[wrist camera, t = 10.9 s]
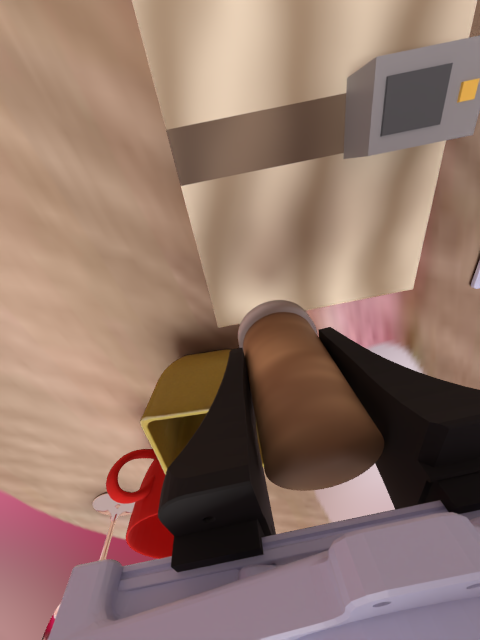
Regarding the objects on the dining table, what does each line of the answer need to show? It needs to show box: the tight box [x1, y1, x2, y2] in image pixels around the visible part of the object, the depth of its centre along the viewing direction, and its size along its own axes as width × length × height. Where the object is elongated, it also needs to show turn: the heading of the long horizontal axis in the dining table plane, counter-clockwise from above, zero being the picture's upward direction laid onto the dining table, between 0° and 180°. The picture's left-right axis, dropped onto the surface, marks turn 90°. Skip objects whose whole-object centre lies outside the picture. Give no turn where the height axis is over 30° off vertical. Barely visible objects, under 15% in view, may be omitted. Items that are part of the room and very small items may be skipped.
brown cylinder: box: [238, 300, 384, 491], centre depth 11 cm, size 4×4×8 cm
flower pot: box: [140, 349, 264, 475], centre depth 23 cm, size 9×9×9 cm
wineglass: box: [42, 493, 135, 640], centre depth 31 cm, size 8×8×20 cm
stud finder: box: [343, 36, 480, 159], centre depth 14 cm, size 6×4×3 cm, turn 100°
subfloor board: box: [132, 0, 477, 328], centre depth 17 cm, size 18×20×2 cm
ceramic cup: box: [106, 449, 174, 559], centre depth 28 cm, size 13×17×10 cm
